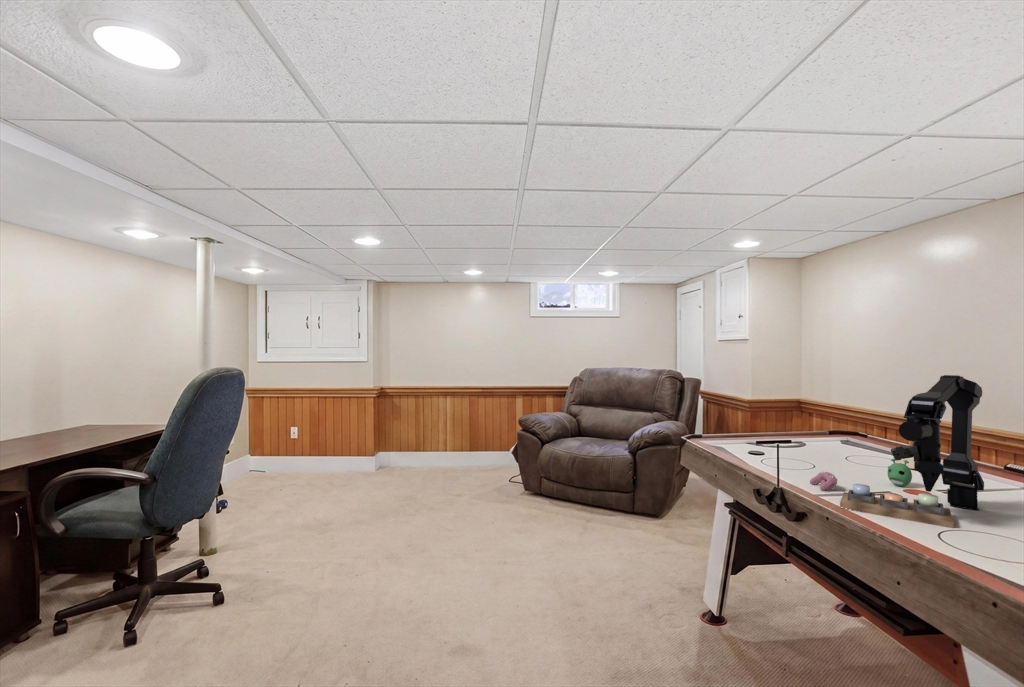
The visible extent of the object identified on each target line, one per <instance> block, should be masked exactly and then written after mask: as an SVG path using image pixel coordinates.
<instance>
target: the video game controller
mask: <svg viewBox="0 0 1024 687" xmlns="http://www.w3.org/2000/svg"><path fill="white" fill-rule="evenodd" d="M809 484H810V485H811V484H812V485H811V486H816V485H819V484H820V487H819V489H820V491H822V492H828V491H829V490H831V489H833V488H834V487H836V485H837V484H838V478H837V477H836V476H835V475H834V473H831V472H828V471H823V470H822V471H821V472H819V473H818V474H817V475H815V476H814V477H812V478H810V480H809Z"/></svg>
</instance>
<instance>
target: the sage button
mask: <svg viewBox="0 0 1024 687" xmlns="http://www.w3.org/2000/svg"><path fill="white" fill-rule="evenodd" d="M917 500H918V502H919V505H925V506H932V507H938V503H939V496H938V495H935V494H931V493H923V492H921V493H918V499H917Z"/></svg>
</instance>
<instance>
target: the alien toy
mask: <svg viewBox="0 0 1024 687" xmlns="http://www.w3.org/2000/svg"><path fill="white" fill-rule="evenodd" d="M890 461H891V462H893V463H892V464H890V465H888V466H887V477H888V480H889V481H890V482H891V484H893V485H894V486H896V487H900V486H903V487H907V486H908V485H910V483H911V482H912V480H913V473H912V471H911V469H910V467H909V466H908V465H907V464H909V463H910V462H909V461H908V460H907V459H903V462H904V463H902V462H896V461H895V459H894V458H891V459H890Z"/></svg>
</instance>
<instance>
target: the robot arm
mask: <svg viewBox="0 0 1024 687" xmlns="http://www.w3.org/2000/svg"><path fill="white" fill-rule="evenodd" d="M982 396H983V388H982V386H980V385H979V384H978V383H977V382H976V381H972V380H969V379H966V378H964V376H962V375H961V376H960V375H959V374H958V375H949V374H944V375H941V376H939V380H938V381H937V382H936V383H934V385H933V386H932V387H930V388H929V390H927V391H926V392H921V393H917V394H915V395H912V396H911V398H910V399H909V400H908V404H907V407H906V409H905V411H904V412H905V413H904V416H903V419H906V421H904V422H902V423H901V424H899V427H898V433H899V435H900V436H901V438H902V439H904V440H905V441H907V442H913V443H912V444H910V445H900V446H895V447H893V448H890V452H891V454H892V456H893V459H895V462H896V461H901V460H906V459H910V458H913V466H914V468H913V469H914V471H917V472H918V473H920V474H921V479H922V481H923V486H924V490H925V491H926V492H929V493H930V492H932V490H933V489H934V487H935V484H936V483H937V481H938V479H939V477H940V476H941V479H942V484H943V485H945V486H946V485H947V486H949V488H946V498H947V503H949V505H950V507H955V508H962V509H968V510H969V509H970V510H974V511H979V510H980V509H979V507H978V506H979V505H978V503H979V502H978V491H980V492H981V491H983V492H984V491H985V481H984V480H983V478H982V475H981V473H980V472H979V470H978V469H979V468H978V467H979V466H978V464H977V463H976V462H975V460H974V459H973V457H972V433H973V432H972V431H973V430H972V428H973V411H974V410H975V408H977V406H978V405H980V401H981V398H982ZM946 402H947V404H948V405H949V406H950V407H951V411H952V412H951V434H950V437H951V438H950V440H951V441H950V454H949V455H948V456H947V457H944V458H943V460H942V458H941V447H942V446H941V445H942V444H941V423H942V418H943V417H944V415H945V412H946V410H947V405H946Z"/></svg>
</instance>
